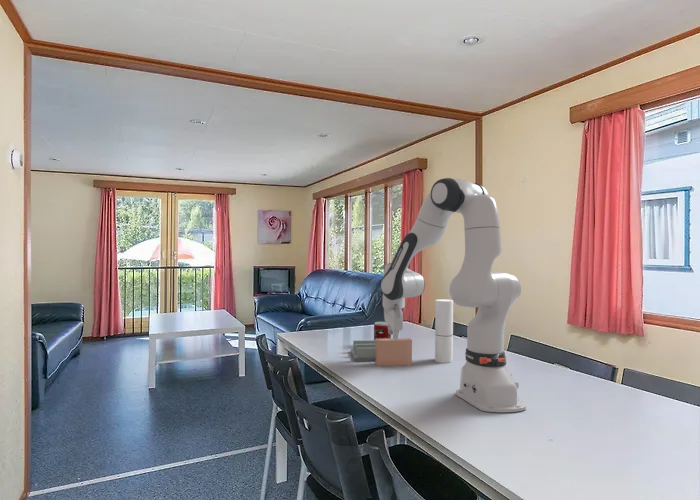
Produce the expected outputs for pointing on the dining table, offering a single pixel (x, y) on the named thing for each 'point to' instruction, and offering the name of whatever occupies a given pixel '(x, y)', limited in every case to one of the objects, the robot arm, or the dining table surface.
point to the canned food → (381, 330)
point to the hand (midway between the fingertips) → (393, 337)
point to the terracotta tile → (393, 352)
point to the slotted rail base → (363, 350)
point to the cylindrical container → (444, 331)
